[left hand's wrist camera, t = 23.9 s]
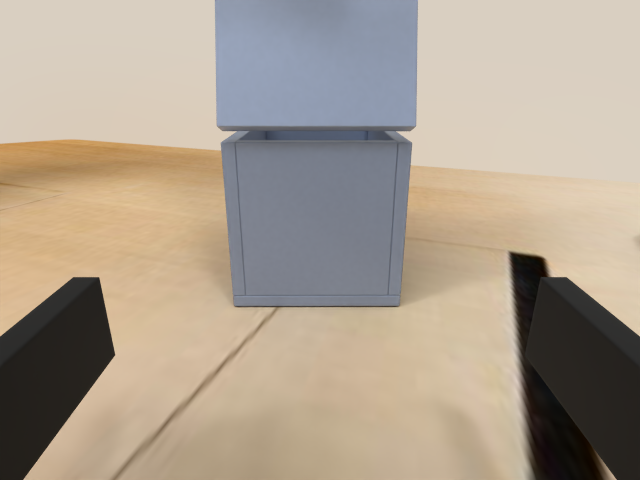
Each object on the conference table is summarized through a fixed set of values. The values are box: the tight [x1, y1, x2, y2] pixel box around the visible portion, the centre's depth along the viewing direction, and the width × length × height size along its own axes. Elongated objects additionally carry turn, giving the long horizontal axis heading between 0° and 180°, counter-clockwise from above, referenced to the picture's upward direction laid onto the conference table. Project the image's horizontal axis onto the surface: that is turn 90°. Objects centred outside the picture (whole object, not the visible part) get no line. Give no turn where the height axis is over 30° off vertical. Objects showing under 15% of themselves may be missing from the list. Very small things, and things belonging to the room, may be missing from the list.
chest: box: [221, 131, 412, 306], centre depth 30 cm, size 14×10×10 cm
